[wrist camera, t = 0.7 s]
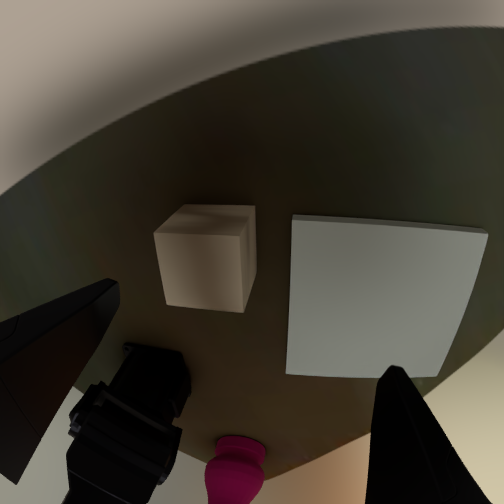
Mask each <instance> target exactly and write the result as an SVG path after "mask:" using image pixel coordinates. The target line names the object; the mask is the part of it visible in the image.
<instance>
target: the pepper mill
mask: <svg viewBox="0 0 504 504" xmlns="http://www.w3.org/2000/svg"><path fill="white" fill-rule="evenodd" d="M215 454H216V457H214V458H213V459H211V460H210V461H209V462H208V463H207V465H206V469H205V485H206V489H207V494H208V504H249V503H250V502H251V501H252V500H253V499H254V497H255V496H256V495H257V494H258V492H259V491H260V489H261V487H262V484H263V481H264V478H265V476H264V472H263V470H262V468H261V467H260V465H261V464H262V463H263V462H264V457H265V448H264V447H263V445H262V444H260V443H259V442H257V441H255V440H253V439H250V438H247V437H242V436H225V437H222V438H221V439H219V440H218V442H217V446H216V449H215Z"/></svg>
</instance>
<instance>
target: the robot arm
mask: <svg viewBox="0 0 504 504" xmlns="http://www.w3.org/2000/svg"><path fill="white" fill-rule="evenodd" d="M119 304H120V290H119V283H118V282H117V281H115V280H112V279H109V278H106V279H103V280H101V281H98V282H96V283H93V284H91V285H88V286H86V287H83V288H81V289H79V290H76V291H74V292H71V293H69V294H66V295H64V296H62V297H59V298H57V299H54V300H52V301H50V302H47V303H45V304H43V305H40V306H38V307H35V308H33V309H31V310H28V311H26V312H24V313H21V314H20V315H16V316H14V317H12V318H10V319H7V320H5V321H2V322H0V473H1V474H2V475H3V476H5V477H6V478H7V479H8V480H10V481H11V482H13V483H14V484H15V485H17V483H18V482H19V480H20V478H21V476H22V474H23V472H24V470H25V468H26V467H27V465H28V463H29V461H30V459H31V457H32V455H33V454H34V452H35V450H36V448H37V446H38V444H39V443H40V441H41V438H42V437H43V435H44V433H45V432H46V430H47V428H48V427H49V425H50V423H51V421H52V420H53V418H54V416H55V414H56V413H57V411H58V409H59V408H60V406H61V404H62V403H63V401H64V399H65V398H66V396H67V394H68V393H69V391H70V390H71V388H72V386H73V385H74V383H75V382H76V380H77V378H78V377H79V375H80V374H81V372H82V370H83V369H84V367H85V366H86V364H87V363H88V361H89V359H90V358H91V356H92V355H93V353H94V352H95V350H96V349H97V347H98V345H99V344H100V342H101V340H102V338H103V336H104V334H105V332H106V330H107V329H108V327H109V325H110V323H111V321H112V319H113V317H114V315H115V313H116V311H117V309H118V307H119ZM122 348H123V351H124V354H125V356H126V359H125V361H124V362H123V364H122V365H121V367H120V368H119V370H118V372H117V373H116V375H115V376H114V378H113V380H112V381H111V383H110V384H109V386H107V385H105V383H104V382H102V381H100V383H99V384H98V385H93V384H91V385H90V386H89V388H88V389H87V391H86V392H85V394H84V395H83V397H82V398H81V399H80V401H79V402H78V403H77V404H76V405H75V407H74V408H73V409H72V411H71V412H70V414H69V418H70V421H71V424H70V427H71V428H70V430H69V432H68V434H69V435H71V436H72V437H73V438H74V440H73V442H72V444H71V445H70V447H69V449H68V451H67V453H66V460H67V471H68V481H69V491H68V493H67V494H66V496H65V498H64V500H63V502H62V504H146V503H148V502H149V500H150V497H151V495H152V493H153V491H154V489H155V487H156V485H161V484H162V483H163V482H164V481H165V480H166V479H167V477H168V475H169V474H170V472H171V470H172V468H173V466H174V463H175V459H176V456H177V451H178V447H179V443H180V438H181V434H182V430H183V429H181V428H179V427H175V426H173V425H172V422H173V419H174V418H178V417H180V415H181V413H182V410H183V408H184V405H185V403H186V400H187V398H188V397H190V395H191V384H190V380H189V376H188V373H187V371H186V369H185V365H184V361H183V357H182V355H181V354H180V353H178V352H174V351H168V350H162V349H156V348H151V347H146V346H140V345H135V344H130V343H124V345H123V346H122ZM365 504H492V503H491V502H490V501H489V500H488V498H487V497H486V496H485V495H484V493H483V492H482V490H481V489H480V487H479V486H478V484H477V483H476V481H475V480H474V479H473V477H472V476H471V475H470V473H469V471H468V470H467V468H466V467H465V465H464V464H463V462H462V461H461V459H460V457H459V456H458V454H457V452H456V451H455V449H454V447H452V444H451V443H450V441H449V440H448V438H447V436H446V434H445V433H444V431H443V429H442V428H441V426H440V424H439V423H438V421H437V420H436V418H435V416H434V415H433V414H432V412H431V410H430V408H429V407H428V405H427V404H426V402H425V401H424V399H423V397H422V396H421V394H420V393H419V391H418V390H417V388H416V387H415V385H414V384H413V382H412V380H411V379H410V377H409V376H408V374H407V373H406V371H405V370H404V368H403V367H401V366H396V365H390V366H389V367H388V368H387V370H386V371H385V372H384V374H383V375H382V376H381V377H380V379H379V380H378V383H377V387H376V395H375V402H374V409H373V416H372V423H371V438H370V454H369V467H368V479H367V489H366V499H365Z"/></svg>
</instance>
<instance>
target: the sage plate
mask: <svg viewBox="0 0 504 504" xmlns="http://www.w3.org/2000/svg"><path fill="white" fill-rule="evenodd" d="M487 238H488V233H487V232H486V231H485V230H484V229H483V228H474V227H464V226H453V225H442V224H431V223H419V222H406V221H393V220H379V219H364V218H348V217H331V216H312V215H293V217H292V244H291V277H290V303H289V325H288V345H287V363H286V374H295V375H310V376H329V377H360V378H380V377H381V376H382V375H383V374H384V372H385V371H386V370H387V368H388V367H389V366H390V365H396V366H401V367H403V368H404V370H405V371H406V373H407V374H408V376H409V377H432V376H437V375H438V372H439V370H440V368H441V366H442V364H443V362H444V360H445V358H446V355H447V353H448V351H449V349H450V346H451V344H452V342H453V339H454V337H455V335H456V332H457V330H458V327H459V325H460V322H461V320H462V317H463V314H464V312H465V309H466V306H467V303H468V301H469V298H470V295H471V292H472V289H473V286H474V283H475V280H476V277H477V274H478V270H479V267H480V264H481V260H482V257H483V253H484V249H485V246H486V242H487Z"/></svg>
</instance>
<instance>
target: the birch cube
mask: <svg viewBox="0 0 504 504" xmlns="http://www.w3.org/2000/svg"><path fill="white" fill-rule="evenodd" d="M154 239H155V245H156V251H157V256H158V262H159V267H160V273H161V278H162V283H163V288H164V293H165V298H166V303H167V305H173V306H181V307H190V308H199V309H209V310H219V311H229V312H240V313H244V310H245V307H246V304H247V301H248V298H249V294H250V291H251V288H252V285H253V282H254V279H255V276H256V273H257V256H256V220H255V206H249V205H197V204H184V205H183V206H182V207H181V208H180V209H178V210H177V211H176V212H175V213H174V214H173V215H172V216H171V217H170V218H169V219H168V220H167V221H165V222H164V223H163V224H162V225H161V226H160V227H159V228H158V229H157V230H156V231H155V232H154Z"/></svg>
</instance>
